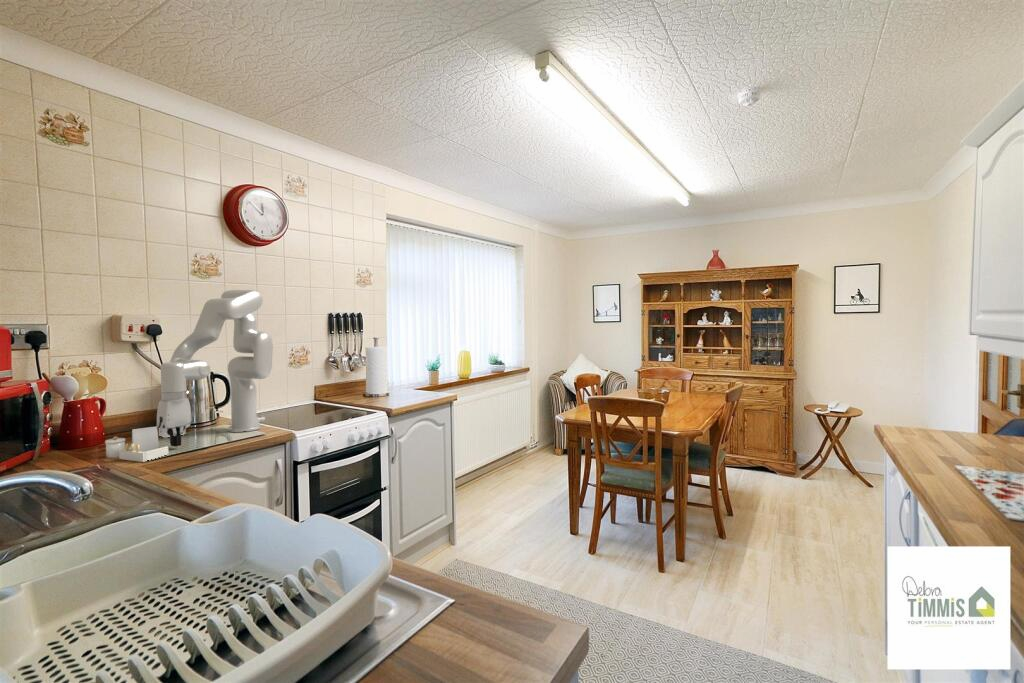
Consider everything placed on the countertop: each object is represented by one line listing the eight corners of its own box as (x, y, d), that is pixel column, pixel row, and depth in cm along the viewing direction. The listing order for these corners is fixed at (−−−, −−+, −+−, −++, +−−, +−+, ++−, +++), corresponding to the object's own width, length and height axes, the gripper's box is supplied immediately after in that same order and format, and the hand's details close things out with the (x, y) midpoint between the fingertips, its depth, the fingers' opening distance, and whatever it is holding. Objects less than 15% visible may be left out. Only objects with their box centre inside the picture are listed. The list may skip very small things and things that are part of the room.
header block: (145, 452, 167) (145, 437, 167) (168, 455, 164) (168, 439, 164) (119, 459, 159) (118, 443, 159) (143, 462, 156) (142, 445, 155)
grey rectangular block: (158, 455, 163) (157, 427, 163) (133, 459, 158) (133, 430, 158) (156, 453, 166) (156, 425, 165) (132, 457, 161) (131, 428, 160)
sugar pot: (118, 453, 166) (118, 434, 166) (129, 454, 165) (129, 435, 164) (101, 457, 161) (101, 437, 161) (112, 458, 159) (112, 438, 159)
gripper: (186, 392, 179) (187, 439, 180) (145, 398, 165) (147, 450, 166) (201, 393, 177) (202, 441, 178) (161, 399, 163) (163, 452, 164)
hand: (175, 445), depth 172 cm, fingers closed
